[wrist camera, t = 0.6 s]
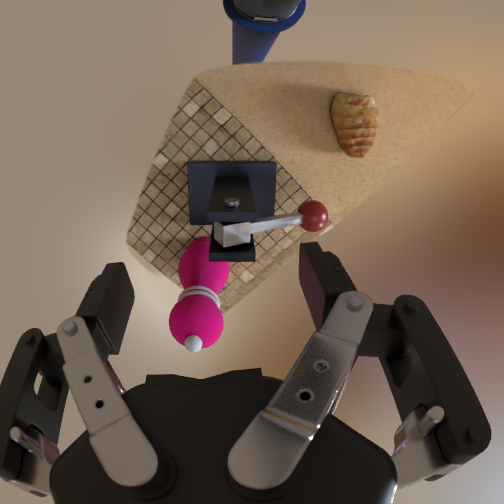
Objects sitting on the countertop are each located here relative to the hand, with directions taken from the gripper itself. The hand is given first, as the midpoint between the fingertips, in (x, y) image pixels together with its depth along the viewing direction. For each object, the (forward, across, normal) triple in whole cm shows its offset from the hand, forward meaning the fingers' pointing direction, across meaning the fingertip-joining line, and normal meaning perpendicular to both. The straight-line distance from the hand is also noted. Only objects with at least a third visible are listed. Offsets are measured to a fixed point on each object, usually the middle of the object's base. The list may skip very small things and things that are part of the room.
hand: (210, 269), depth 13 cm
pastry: (+29, -19, -3) cm, 35 cm away
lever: (+18, -5, +6) cm, 20 cm away
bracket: (+28, -1, +7) cm, 29 cm away
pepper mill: (+28, +4, +16) cm, 32 cm away
